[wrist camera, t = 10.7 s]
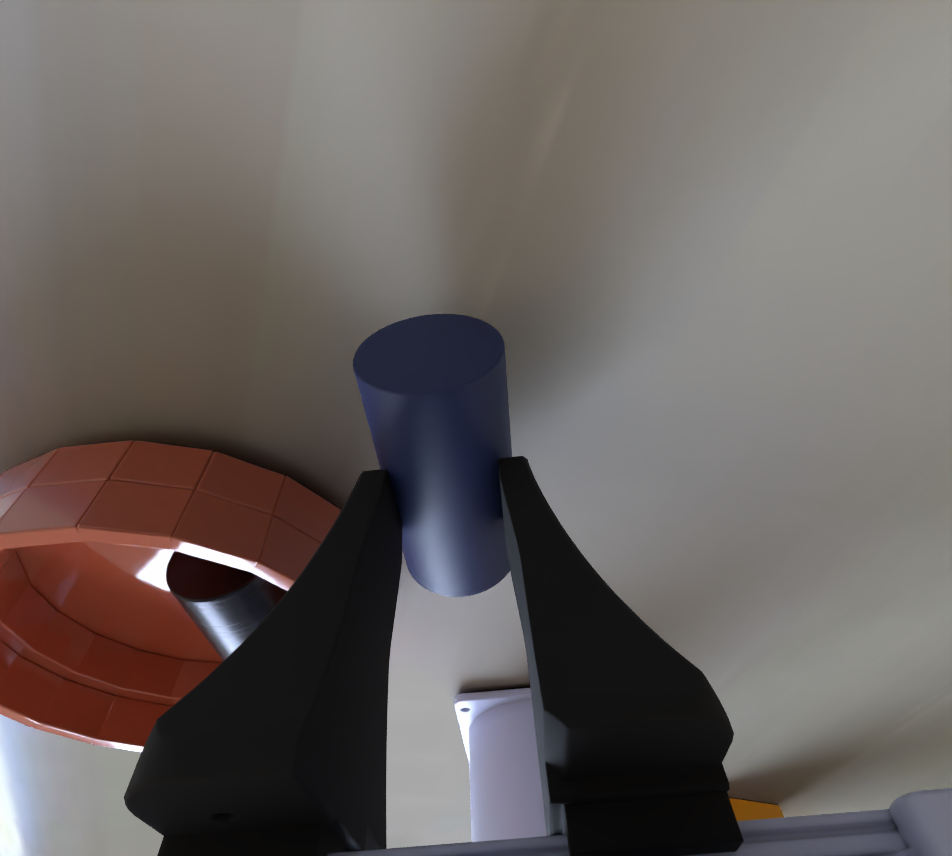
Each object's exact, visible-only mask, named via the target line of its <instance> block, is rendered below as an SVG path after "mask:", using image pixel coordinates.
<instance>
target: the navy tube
mask: <svg viewBox="0 0 952 856" xmlns="http://www.w3.org/2000/svg"><path fill="white" fill-rule="evenodd" d="M353 369H354V373H355V377H356V380H357V384H358V388H359V391H360V395H361V399H362V402H363V406H364V410H365V413H366V417H367V421H368V424H369V428H370V432H371V435H372V439H373V443H374V446H375V450H376V454H377V457H378V461H379V465H380V468H381V470H382V469H386V470H387V471H388V475H389V479H390V482H391V486H392V490H393V494H394V498H395V501H396V505H397V509H398V513H399V517H400V520H401V524H402V549H403V553H404V557H405V560H406V564H407V567H408V570H409V572H410V574H411V575H412V577H413V578H414V579H415V580H416V581H417V582H418V583H419V584H420V585H421V586H422V587H424V588H426V589H427V590H429V591H431V592H434V593H436V594H440V595H444V596H450V597H463V596H470V595H474V594H478V593H481V592H483V591H486V590H488V589H490V588H491V587H493V586H495V585H496V584H497V583H499V582H500V581H501V580H502V579H503V578H504V577H505V576H506V575H507V574H508V572H509V571H510V566H509V561H508V556H507V550H506V540H505V530H504V521H503V510H502V498H501V487H500V476H499V464H498V460H499V459H500V458H508V457H512V451H511V435H510V420H509V405H508V389H507V374H506V359H505V345H504V340H503V338H502V336H501V335H500V333H499V332H498V331H497V330H496V329H495V328H494V327H493V326H491V325H490V324H488V323H486V322H484V321H482V320H479V319H477V318H473V317H469V316H464V315H456V314H433V315H424V316H418V317H413V318H409V319H405V320H402V321H399V322H396V323H393V324H391V325H388V326H386V327H384V328H382V329H380V330H378V331H377V332H375V333H374V334H372V335H371V336H369V337H368V338H367V339H366V340H365V341H364V342H363V343H362V344H361V345H360V346H359V348H358V349H357V351H356V353H355V356H354V359H353Z"/></svg>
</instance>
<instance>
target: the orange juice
mask: <svg viewBox="0 0 952 856" xmlns="http://www.w3.org/2000/svg"><path fill="white" fill-rule="evenodd" d="M729 799H730V802H731V805H732V808H733V811H734V814H735V817H736V820H737V821H746V820H758V819H771V818H784V816H783V814H782V811H781V809H780V806H779V805H773V804H766V803H760V802H753V801H746V800H740V799H733V798H729Z"/></svg>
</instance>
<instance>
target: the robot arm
mask: <svg viewBox="0 0 952 856" xmlns="http://www.w3.org/2000/svg"><path fill="white" fill-rule="evenodd" d="M498 464H499V476H500V487H501V498H502V510H503V521H504V530H505V540H506V550H507V556H508V561H509V566H510V571H511V576H512V581H513V586H514V590H515V595H516V600H517V605H518V610H519V615H520V620H521V624H522V629H523V634H524V641H525V647H526V653H527V662H528V671H529V680H530V688H522V689H510V690H498V691H487V692H475V693H463V694H459V695H457V696H456V697H455V698H454V706H455V710H456V714H457V718H458V722H459V726H460V730H461V734H462V738H463V742H464V746H465V750H466V754H467V758H468V762H469V765H470V798H471V830H472V842H467V843H454V844H441V845H429V846H416V847H403V848H391V849H386V741H387V702H388V675H389V657H390V647H391V639H392V632H393V624H394V617H395V610H396V602H397V595H398V588H399V580H400V573H401V565H402V524H401V520H400V517H399V513H398V509H397V505H396V501H395V498H394V494H393V490H392V486H391V482H390V479H389V475H388V471H387V470H386V469H382V470H371V471H363V472H362V473H361V474H360V476H359V478H358V480H357V482H356V484H355V486H354V488H353V490H352V492H351V494H350V495H349V497H348V499H347V501H346V503H345V505H344V506H343V508H342V510H341V512H340V514H339V515H338V517H337V519H336V520H335V522H334V524H333V525H332V527H331V529H330V530H329V532H328V534H327V535H326V537H325V539H324V540H323V542H322V543H321V545H320V546H319V548H318V549H317V551H316V552H315V554H314V555H313V557H312V558H311V560H310V561H309V563H308V564H307V565H306V567H305V568H304V570H303V571H302V573H301V574H300V575H299V577H298V578H297V579H296V581H295V582H294V583H293V585H292V586H291V587H290V589H289V590H288V591H287V592H286V594H285V595H284V596H283V597H282V599H281V600H280V601H279V602H278V603H277V605H276V606H275V607H274V608H273V609H272V610H271V612H270V613H269V614H268V615H267V616H266V617H265V618H264V620H263V621H262V622H261V623H260V624H259V625H258V626H257V628H256V629H255V630H254V631H253V632H252V633H251V634H250V635H249V636H248V637H247V638H246V639H245V640H244V641H243V642H242V643H241V644H240V645H239V646H238V647H237V648H236V649H235V650H234V651H233V652H232V653H231V654H230V655H229V656H228V657H227V658H226V659H225V660H224V661H223V662H222V663H221V664H220V665H219V666H218V667H217V668H216V669H215V670H214V671H213V672H212V673H211V674H209V675H208V676H207V677H206V678H205V679H204V680H203V681H202V682H201V683H200V684H198V685H197V686H196V687H195V688H194V689H192V690H191V691H190V692H189V693H188V694H187V695H185V696H184V697H183V698H182V699H181V700H179V701H178V702H177V703H176V704H175V705H174V706H172V707H171V708H170V709H169V710H168V711H166V712H165V713H164V714H163V715H161V716H160V717H159V718H158V719H157V720H156V723H155V725H154V727H153V729H152V731H151V733H150V735H149V737H148V739H147V741H146V743H145V745H144V748H143V750H142V752H141V755H140V758H139V760H138V763H137V765H136V768H135V770H134V773H133V775H132V778H131V780H130V783H129V786H128V788H127V791H126V793H125V796H124V800H125V804H126V806H127V808H128V810H129V811H130V812H132V813H133V814H134V815H135V816H136V817H137V818H139V819H140V820H142V821H143V822H145V823H146V824H148V825H149V826H151V827H152V828H153V829H155V830H156V831H158V832H159V833H161V834H162V835H164V838H163V841H162V844H161V847H160V850H159V853H158V856H952V788H947V789H934V790H922V791H916V792H911V793H908V794H905V795H902V796H900V797H899V798H897V799H896V800H895V801H893V803H892V804H891V806H890V808H889V809H885V810H872V811H860V812H847V813H834V814H822V815H809V816H796V817H784V818H771V819H758V820H746V821H737V820H736V817H735V814H734V811H733V808H732V805H731V802H730V799H729V797H728V794H727V791H728V790H729V789H730V788H729V782H728V779H727V776H726V773H725V771H724V768H723V765H722V761H723V759H724V757H725V755H726V753H727V751H728V749H729V747H730V745H731V743H732V740H733V735H734V732H733V730H732V727H731V724H730V721H729V719H728V716H727V714H726V712H725V710H724V708H723V706H722V704H721V702H720V701H719V699H718V697H717V695H716V693H715V692H714V690H713V688H712V687H711V685H710V683H709V682H708V680H707V679H706V677H705V676H704V674H703V673H702V671H700V670H699V669H698V668H697V667H695V666H694V665H693V664H692V663H690V662H689V661H688V660H687V659H685V658H684V657H683V656H682V655H681V654H679V653H678V652H677V651H676V650H675V649H674V648H672V647H671V646H670V645H669V644H668V643H666V642H665V641H664V640H663V639H662V638H661V637H660V636H659V635H658V634H656V633H655V632H654V631H653V630H652V629H651V628H650V627H649V626H648V625H646V624H645V623H644V622H643V621H642V620H641V619H640V618H639V617H638V616H637V615H636V614H635V613H634V612H633V611H632V610H631V609H630V608H629V607H628V606H627V605H626V604H625V603H624V602H623V601H622V600H621V599H620V598H619V597H618V596H617V595H616V594H615V592H614V591H613V590H612V589H611V588H610V587H609V586H608V585H607V584H606V582H605V581H604V580H603V579H602V578H601V577H600V576H599V574H598V573H597V572H596V571H595V570H594V568H593V567H592V566H591V565H590V564H589V562H588V561H587V560H586V559H585V557H584V556H583V555H582V553H581V552H580V551H579V549H578V548H577V547H576V545H575V544H574V542H573V541H572V540H571V538H570V537H569V535H568V534H567V533H566V531H565V530H564V528H563V527H562V525H561V524H560V522H559V521H558V519H557V517H556V516H555V514H554V512H553V511H552V509H551V508H550V506H549V504H548V503H547V501H546V499H545V497H544V496H543V494H542V492H541V490H540V488H539V486H538V484H537V482H536V480H535V478H534V475H533V473H532V471H531V468H530V466H529V463H528V459H526V458H525V457H523V456H518V457H508V458H500V459H499V460H498Z"/></svg>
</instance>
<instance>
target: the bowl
mask: <svg viewBox="0 0 952 856" xmlns="http://www.w3.org/2000/svg"><path fill="white" fill-rule="evenodd" d="M340 512H341V510H340V509H339V508H337V507H336V506H334V505H333V504H331V503H329V502H328V501H326V500H325V499H323V498H322V497H320V496H318V495H317V494H315V493H314V492H312V491H310V490H309V489H307V488H306V487H304V486H303V485H301V484H299V483H298V482H296V481H295V480H293V479H291V478H290V477H288V476H284V475H282V474H280V473H277V472H274V471H271V470H268V469H265V468H262V467H260V466H257V465H254V464H251V463H248V462H245V461H242V460H240V459H237V458H234V457H231V456H228V455H225V454H222V453H220V452H214V453H213V451H212V450H207V449H199V448H191V447H184V446H176V445H169V444H161V443H153V442H146V441H134V440H128V441H118V442H108V443H97V444H87V445H77V446H67V447H62V448H58V449H55V450H53V451H51V452H48V453H46V454H44V455H41V456H39V457H37V458H34V459H32V460H30V461H27V462H25V463H23V464H20V465H18V466H16V467H13V468H11V469H9V470H6V471H5V472H3V473H2V474H1V475H0V714H1V715H4V716H6V717H8V718H11V719H13V720H15V721H18V722H20V723H22V724H24V725H27V726H29V727H33V728H35V729H39V730H42V731H46V732H50V733H53V734H57V735H60V736H64V737H68V738H71V739H75V740H78V741H82V742H86V743H89V744H93V745H99V746H106V747H112V748H118V749H125V750H131V751H138V752H142V750H143V748H144V745H145V743H146V741H147V739H148V737H149V735H150V733H151V731H152V729H153V727H154V725H155V723H156V720H157V719H158V718H159V717H160V716H161V715H163V714H164V713H165V712H166V711H168V710H169V709H170V708H171V707H172V706H174V705H175V704H176V703H177V702H178V701H179V700H181V699H182V698H183V697H184V696H185V695H187V694H188V693H189V692H190V691H191V690H192V689H194V688H195V687H196V686H197V685H198V684H200V683H201V682H202V681H203V680H204V679H205V678H206V677H207V676H208V675H209V674H211V673H212V672H213V671H214V670H215V669H216V668H217V667H218V666H219V665H220V664H221V663H222V662H223V660H222V659H221V657H220V656H219V655H218V653H217V652H216V651H215V649H214V648H213V647H212V645H211V644H210V643H209V642H208V640H207V639H206V638H205V636H204V635H203V634H202V632H201V631H200V630H199V628H198V627H197V626H196V624H195V623H194V622H193V620H192V619H191V618H190V616H189V615H188V614H187V612H186V611H185V610H184V608H183V607H182V606H181V604H180V603H179V602H178V601H177V599H176V598H175V597H174V595H173V594H172V593H171V591H170V590H169V588H168V586H167V582H166V568H167V565H168V562H169V560H170V557H171V556H172V554H173V552H174V551H176V552H180V553H184V554H187V555H191V556H194V557H198V558H201V559H205V560H208V561H212V562H216V563H219V564H223V565H226V566H230V567H233V568H237V569H240V570H244V571H248V572H251V573H253V574H255V575H257V576H259V577H261V578H262V579H264V580H266V581H268V582H270V583H272V584H274V585H276V586H278V587H280V588H282V589H284V590H286V591H288V590H289V589H290V587H291V586H292V585H293V583H294V582H295V581H296V579H297V578H298V577H299V575H300V574H301V573H302V571H303V570H304V568H305V567H306V565H307V564H308V563H309V561H310V560H311V558H312V557H313V555H314V554H315V552H316V551H317V549H318V548H319V546H320V545H321V543H322V542H323V540H324V539H325V537H326V535H327V534H328V532H329V530H330V529H331V527H332V525H333V524H334V522H335V520H336V519H337V517H338V515H339V514H340Z"/></svg>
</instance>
